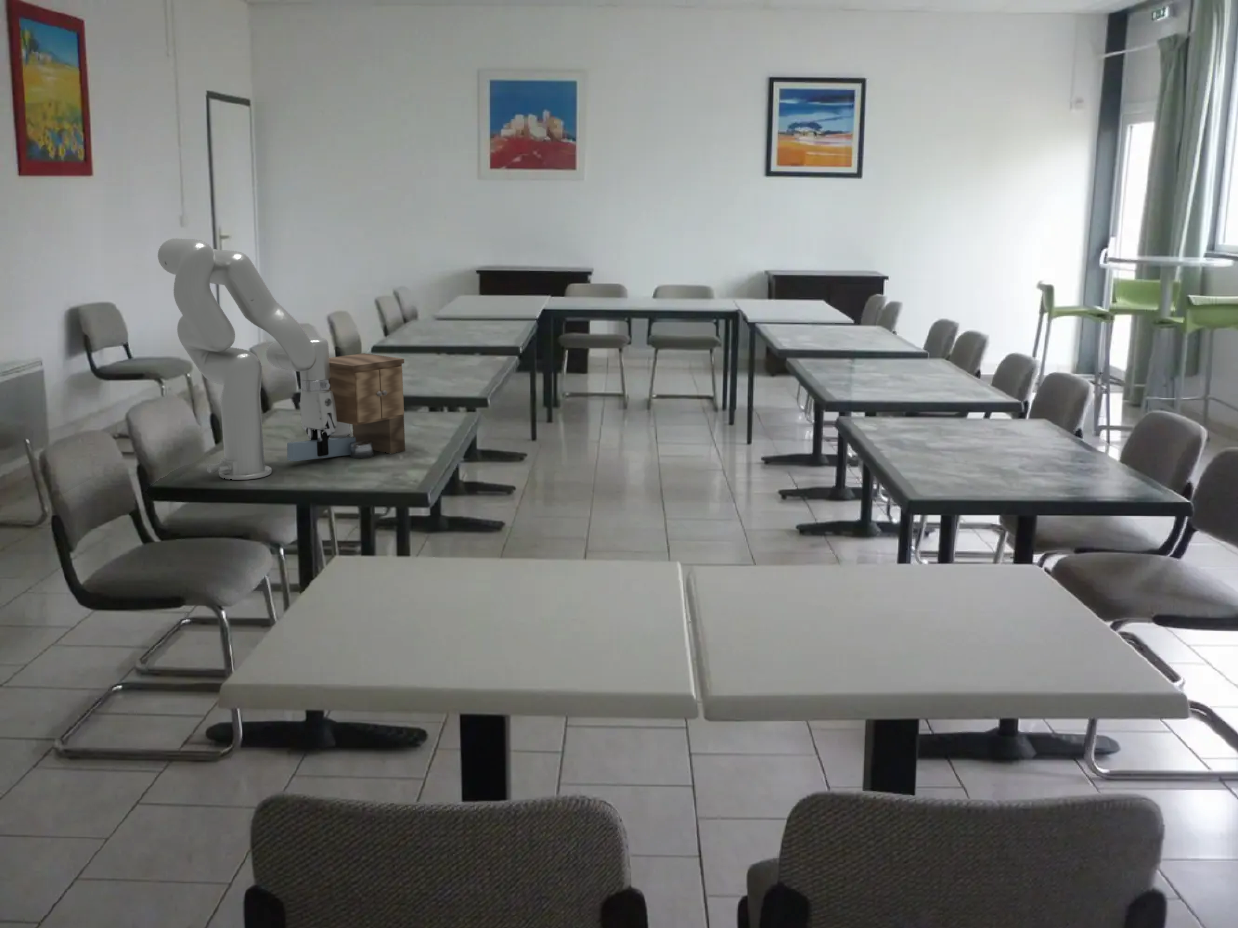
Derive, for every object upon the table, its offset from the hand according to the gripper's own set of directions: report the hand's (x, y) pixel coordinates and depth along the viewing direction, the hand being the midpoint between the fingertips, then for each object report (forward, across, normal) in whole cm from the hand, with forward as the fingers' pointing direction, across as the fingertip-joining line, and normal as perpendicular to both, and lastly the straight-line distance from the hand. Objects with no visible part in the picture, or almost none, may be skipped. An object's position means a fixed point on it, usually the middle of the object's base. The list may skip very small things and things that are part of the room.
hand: (319, 454), depth 324 cm
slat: (+1, 0, -1) cm, 1 cm away
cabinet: (+2, 0, -14) cm, 14 cm away
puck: (+2, -4, -10) cm, 11 cm away
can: (+2, +23, -23) cm, 32 cm away
